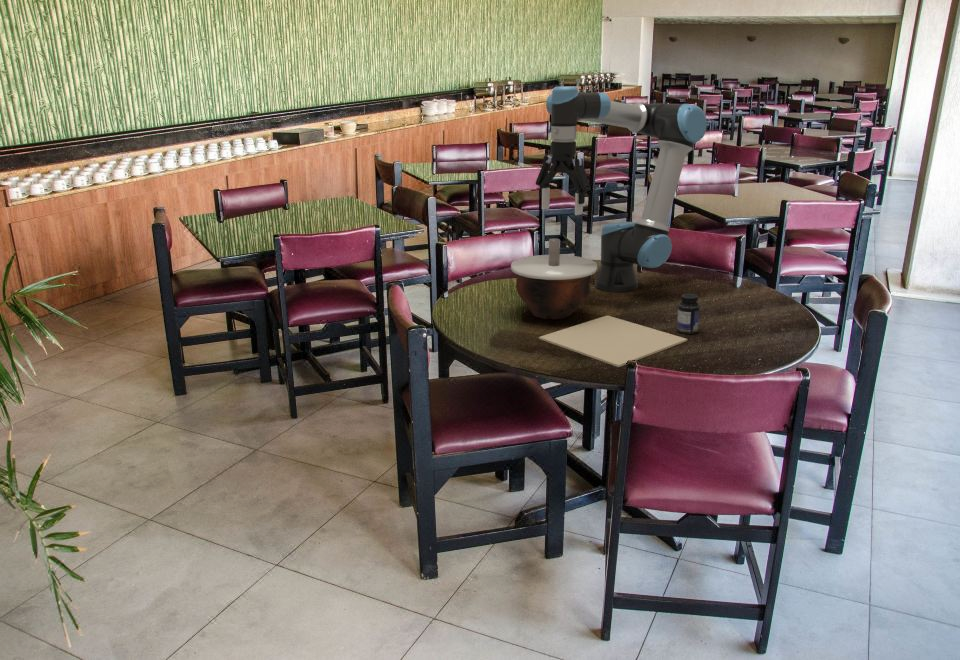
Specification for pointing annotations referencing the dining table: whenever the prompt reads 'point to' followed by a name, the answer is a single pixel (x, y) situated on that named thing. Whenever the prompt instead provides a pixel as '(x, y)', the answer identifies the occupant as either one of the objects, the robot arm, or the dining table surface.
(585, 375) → the dining table surface
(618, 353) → the mat
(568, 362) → the dining table surface
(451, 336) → the dining table surface
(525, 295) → the bowl
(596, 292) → the dining table surface
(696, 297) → the pill bottle
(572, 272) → the lid
